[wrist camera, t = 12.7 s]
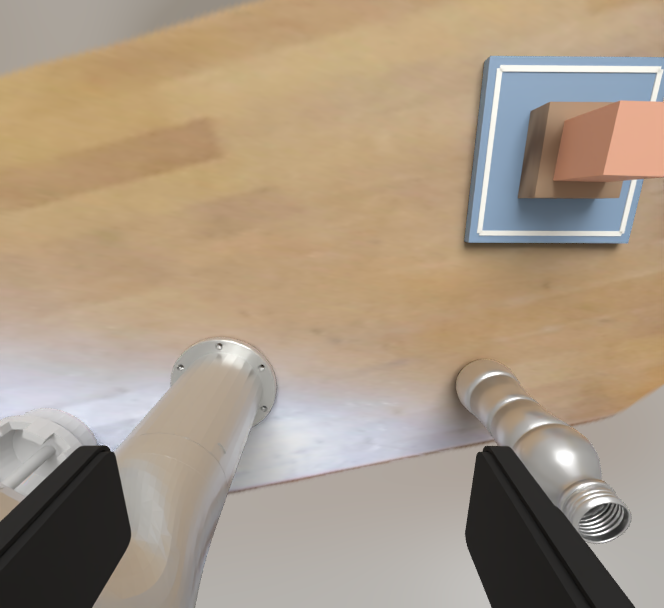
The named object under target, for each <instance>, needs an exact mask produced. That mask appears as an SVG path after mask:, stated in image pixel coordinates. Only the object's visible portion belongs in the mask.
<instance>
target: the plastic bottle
mask: <svg viewBox="0 0 664 608" xmlns="http://www.w3.org/2000/svg"><path fill="white" fill-rule="evenodd" d="M456 391H457V394H458V397H459V399H460V401H461V403H462V404H463V406H464V407H465V408H466V409H467V410H468V411H469V412H470V413H472V414H473V415H474V416H476V417H477V418H478V419H479V420H480V422H481V423H482V424H483V425H484V426H485V427H486V428H487V429H488V431H489V432H490V434H491V436H492V437H493V438H494V440H495V442H496V443H497V445H498V446H509V447H511V449H512V450H513V451H514V452H515V453H516V455H517V456H518V457H519V459H520V460H521V461H522V463H523V464H524V465H525V467H526V468H527V469H528V471H529V472H530V473H531V475H532V476H533V477H534V479H535V480H536V481H537V483H538V484H539V485H540V487H541V488H542V489H543V491H544V492H545V493H546V495H547V496H548V497H549V499H550V500H551V501H552V503H553V504H554V505H555V506H557V507H558V508H559V509H560V510H561V511H562V512H563V513H564V514H565V516H566V517H567V518H568V520H569V521H570V522H571V524H572V525H573V526H574V528H575V529H576V530H577V532H578V533H579V534H580V535H581V537H582V538H583V539H584V541H586V542H588V543H593V544H600V543H606V542H609V541H611V540H614V539H616V538H618V537H619V536H620V535H622V534H623V533H624V532H625V531H626V530H627V529H628V527H629V525H630V523H631V519H632V516H631V512H630V510H629V509H628V507H627V506H626V504H625V503H624V502H623V501H622V500H621V499H620V498H619V497H618V496H617V495H616V493H615V491H614V490H613V489H612V488H611V487H610V486H609V485H608V484H607V483H606V482H604V481H602V473H601V467H600V460H599V457H598V454H597V452H596V451H595V449H594V447H593V446H592V444H591V443H590V441H589V440H588V439H587V438H586V437H585V436H583V435H582V434H581V433H579V432H578V431H577V430H575V429H574V428H572V427H571V426H569V425H568V424H566V423H565V422H563V421H562V420H560V419H559V418H557V417H556V416H554V415H553V414H551V413H550V412H549V411H547V410H546V409H545V408H544V407H542V406H541V405H540V404H539V403H538V402H536V401H535V400H534V399H533V398H532V397H531V396H530V395H529V394H528V393H527V391H526V390H525V389H524V388H523V387H522V386H521V385H520V383H519V381H518V379H517V378H516V376H515V375H514V374H513V373H512V371H511V370H510V369H509V368H508V367H507V366H505V365H503V364H501V363H499V362H497V361H495V360H492V359H480V360H476V361H473V362H471V363H469V364H468V365H466V366H465V367H464V368H463V369H462V370H461V372H460V373H459V375H458V377H457V380H456Z"/></svg>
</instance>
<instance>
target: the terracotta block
mask: <svg viewBox="0 0 664 608" xmlns="http://www.w3.org/2000/svg"><path fill="white" fill-rule="evenodd" d="M660 177H664V102H655V101H623V100H620V101H618V102H615V103H612V104H609V105H607V106H604V107H601V108H598V109H596V110H593V111H590V112H587V113H585V114H582V115H579V116H576V117H574V118H571V119H568V120H566V121H564V126H563V132H562V137H561V142H560V147H559V152H558V157H557V162H556V167H555V172H554V178H553V181H581V182H614V181H626V180H637V179H648V178H660Z"/></svg>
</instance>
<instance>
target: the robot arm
mask: <svg viewBox="0 0 664 608" xmlns="http://www.w3.org/2000/svg"><path fill="white" fill-rule="evenodd" d="M220 343H221V344H222V345H220ZM261 365H264V366H261ZM170 384H171V388H170V389H169V390H168V391H167V392H166V393H165V394H164V396H163V397H162V398H161V399H160V400H159V401H158V402H157V403H156V405H155V406H154V407H153V408H152V409H151V410H150V411H149V413H148V414H147V415H146V416H145V417H144V418H143V419H142V420H141V422H140V423H139V424H138V425H137V426H136V427H135V428H134V430H133V431H132V432H131V433H130V434H129V435H128V436H127V437H126V439H125V440H124V441H123V442H122V443H121V444H120V445H119V447H118V448H117V449H116V450H115V451H114V452H110V449H109V448H108V447H107V446H80V447H78V448H77V449H76V450H75V451H74V452H73V453H71V454H70V455H69V456H68V457H67V458H66V459H65V460H64V461H63V462H62V463H61V464H60V465H59V466H58V467H57V468H56V469H55V470H54V471H53V472H52V473H51V474H49V475H48V476H47V477H46V478H45V479H44V480H43V481H42V482H41V483H40V484H39V485H38V486H37V487H36V488H35V489H34V490H33V491H32V492H31V493H30V494H29V495H27V496H26V497H25V496H24V495H22V494H20V493H18V492H17V491H15V490H13V489H11V488H9V487H7V486H6V485H4V484H2V483H0V608H195V605H196V600H197V594H198V589H199V584H200V580H201V576H202V572H203V567H204V564H205V561H206V557H207V553H208V550H209V547H210V543H211V540H212V537H213V534H214V531H215V528H216V525H217V522H218V519H219V517H220V514H221V511H222V508H223V505H224V503H225V499H226V497H227V494H228V491H229V488H230V485H231V483H232V480H233V477H234V474H235V471H236V469H237V466H238V463H239V460H240V458H241V455H242V452H243V449H244V446H245V444H246V441H247V438H248V435H249V432H250V430H251V427H253V426H255V425H257V424H258V423H259V422H261V421H262V420H263V419H264V418H265V417H266V416H267V415H268V413H269V412H270V410H271V408H272V406H273V403H274V400H275V396H276V390H277V386H276V378H275V374H274V371H273V369H272V367H271V365H270V363H269V362H268V360H267V359H266V358H265V356H264V355H263V354H261V353H260V352H259V351H258V350H257V349H256V348H254V347H252V346H251V345H249V344H247V343H245V342H243V341H240V340H237V339H233V338H227V337H215V338H208V339H205V340H202V341H199V342H197V343H195V344H194V345H192V346H190V347H189V348H188V349H187V350H186V351H185V352H184V353H183V354H182V355H181V356H180V357H179V358H178V360H177V361H176V363H175V365H174V367H173V370H172V374H171V383H170ZM465 536H466V543H467V547H468V549H469V552H470V555H471V557H472V560H473V562H474V564H475V567H476V569H477V572H478V574H479V577H480V579H481V582H482V584H483V587H484V589H485V592H486V594H487V597H488V599H489V602H490V604H491V607H492V608H635V607H634V605H633V604H632V603H631V601H630V600H629V599H628V597H627V596H626V595H625V593H624V592H623V591H622V589H621V588H620V587H619V585H618V584H617V583H616V582H615V580H614V579H613V578H612V576H611V575H610V574H609V572H608V571H607V570H606V568H605V567H604V566H603V565H602V563H601V562H600V561H599V559H598V558H597V557H596V555H595V554H594V553H593V551H592V550H591V549H590V547H589V546H588V545H587V543H586V542H585V541H584V539H583V538H582V537H581V535H580V534H579V533H578V532H577V530H576V529H575V528H574V526H573V525H572V524H571V522H570V521H569V520H568V518H567V517H566V516H565V514H564V513H563V512H562V511H561V510H560V509H559V508H558V507H557V506H555V505H554V504H553V503H552V501H551V500H550V499H549V497H548V496H547V495H546V493H545V492H544V491H543V489H542V488H541V487H540V485H539V484H538V483H537V481H536V480H535V479H534V477H533V476H532V475H531V473H530V472H529V471H528V469H527V468H526V467H525V465H524V464H523V463H522V461H521V460H520V459H519V457H518V456H517V455H516V453H515V452H514V451H513V450H512V449H511V447H509V446H485V447H484V449H483V452H478V453H477V456H476V463H475V470H474V476H473V483H472V490H471V496H470V503H469V510H468V517H467V524H466V530H465Z"/></svg>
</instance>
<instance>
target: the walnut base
mask: <svg viewBox="0 0 664 608" xmlns="http://www.w3.org/2000/svg"><path fill="white" fill-rule="evenodd" d="M612 103H615V102H548V103H546V104H544V105H542V106H540V107H538V108H536V109H534V110H532V111H531V112H530V119H529V125H528V132H527V139H526V145H525V152H524V159H523V165H522V172H521V179H520V185H519V192H518V198H550V199H604V198H619V197H620V192H621V188H622V184H623V181H614V182H581V181H553V178H554V172H555V167H556V162H557V157H558V152H559V147H560V142H561V137H562V132H563V126H564V121H566V120H568V119H571V118H574V117H576V116H579V115H582V114H585V113H587V112H590V111H593V110H596V109H598V108H601V107H604V106H607V105H609V104H612Z"/></svg>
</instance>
